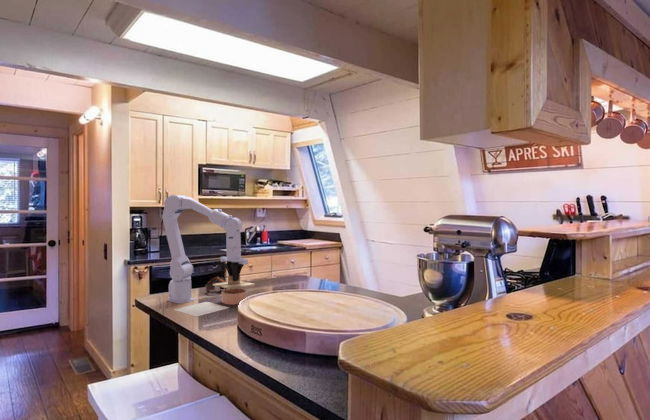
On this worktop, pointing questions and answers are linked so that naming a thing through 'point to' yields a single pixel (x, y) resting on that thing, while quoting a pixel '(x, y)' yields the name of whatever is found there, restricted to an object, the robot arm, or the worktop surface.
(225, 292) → the terracotta bowl
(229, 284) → the birch lid
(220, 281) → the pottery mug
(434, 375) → the worktop surface
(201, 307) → the grey mat
